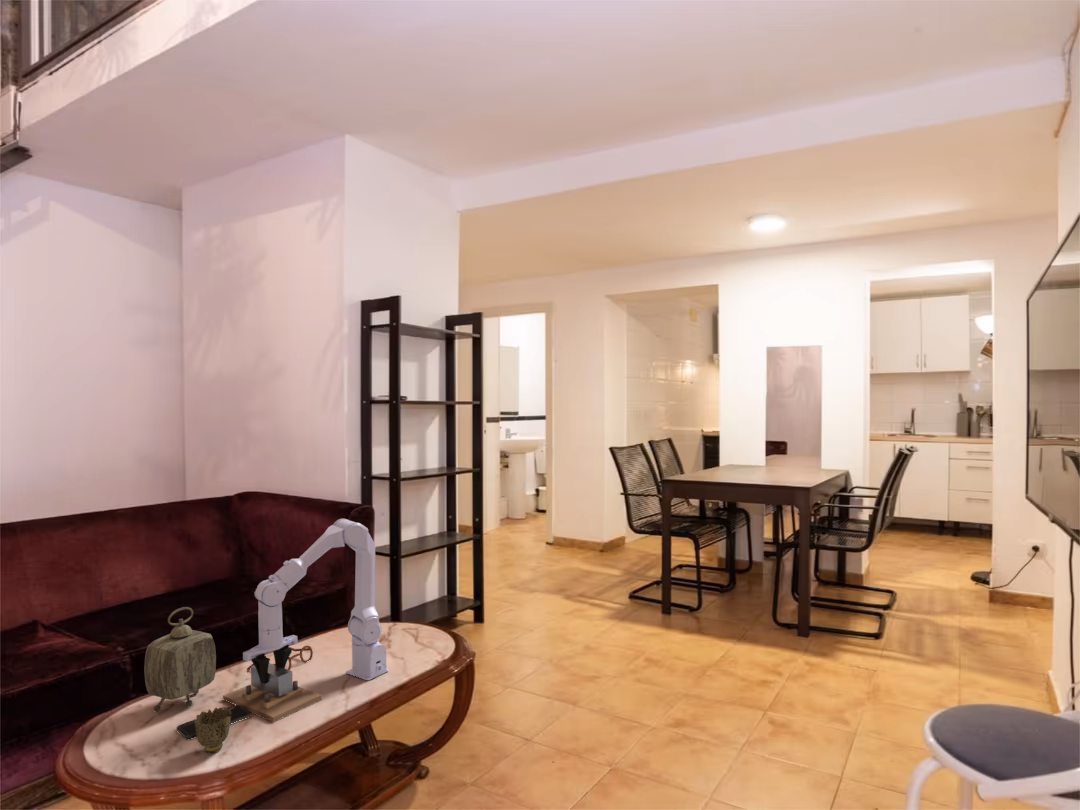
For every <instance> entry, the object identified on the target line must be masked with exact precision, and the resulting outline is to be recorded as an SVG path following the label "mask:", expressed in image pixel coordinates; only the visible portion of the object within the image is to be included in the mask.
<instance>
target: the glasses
mask: <svg viewBox="0 0 1080 810" xmlns="http://www.w3.org/2000/svg"><path fill="white" fill-rule="evenodd" d="M289 647H290V646H289ZM290 648H292V651H293V652H299V653H296V654H294V655H292V656H289V658H288V660H287V661H288V668H287V670H290V671H291V669H292V661H293V659H295V658H297V657H299V658H300V660H301V662H302V663H305V662H307V661H309V660H310V661H311V660H312V659H313V654H314V653H313V652H314V651H313V648H312V646H310V645H304V646H302V648H293V647H290ZM303 651H304V652H306V651H310V655H309V657H308V659H307V660H305V659H304V658H303ZM310 661H309V662H310ZM307 663H308V662H307ZM272 664H273V665H275V663H272ZM251 666H254V664H253V663H252V664H250V665H249V666H248V667H247V668H246V669H247V670H251V669H250V668H251Z"/></svg>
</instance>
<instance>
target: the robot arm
mask: <svg viewBox="0 0 1080 810" xmlns="http://www.w3.org/2000/svg"><path fill="white" fill-rule="evenodd" d="M345 544H346V545H347V546H348V547H349V548H351V549H352V550H353V551H355V575H354V576H355V577H354V578H355V580H354V582H355V583H354V606H353V608H352V610H351V611H350V618H349V620H348V623H347V629H348V633H349V634H350V635H351V667H352V668H351V669H349V670H346V671H345V674H346V673H347V675H349V674H350V676H352V675H353V676H354V677H355V676H356V678H358V677H359V679H361V678H362V680H365V681H370V680H372V679H375V678H377V677H378V676H380V675H383V674H384V673H385V674H386V673H387V672H389V670H390V669H389V668H387V649H386V647H385V646H384V645H383V644H381V643H380V641H379V639H380V638H381V635H382V625H381V624H380V620H379V619H380V616H379V613H378V612H377V610H376V607H375V583H376V582H375V580H376V578H375V576H376V572H375V571H376V543H375V542H374V539H373V538H372V536H371V534H370V532H369V529H368V527H366V526H365V525H364V524H362V523H360V522H355V521H352V520H350V519H346V518H339V519H337V520H336V521H335V522H334V523H333V524H332V525H330V526H328V527H327V529H326V530H325V531H324V533H323V534H322V535H321V536H320V537H318V538H317V540H316V541H314V543H313V544H311V546H310V547H309V548H308V549H307V550H306V551H304V552H303V554H301V555H300V556H299V558H291V559H289V560H285V561H284V562H283V563H282V564H283V566H281V567H280V568H279V569H278V570H277V571H276V572H274V574H271V575H270V574H269V576H268V579H266V580H262V581H260V582H259V583H258V585H257V587H256V588H255V591H254V597H255V599H257V600H258V602H257V603H258V612H257V615H258V616H257V617H258V618H257V619H258V644H257V645H256V646H254V647H252V648H250V649H248V650H246V651H243V652H242V660H243V661H244V662H247V663H248V662H252V664H254V666H255V667H256V670H257V672H258V675H259V678H260V682H261V683H264V684H266V683H267V681H268V665H269V663H270V660H271V658H269V657H267V655H266V654H271V653H272V652H273V657H274V661H275V662H274V664H275V665H276V666H279V667H282V668H284V669H286V665H287V662H288V661H289V660H288V658H289V657H291V654H292V651H293V650H292V648H293V647H291V648H290V646H291V645H297V644H299V643H298V641H299V640H298V635H294V634H292V635H289V636H285V637H284V634H283V605H282V602H284V600H285V597H286V595H287V592H288V591H290V590H291V589H292V588H293V587H294V586H295V585H296V584H297V583H299V581H301V580H302V578H304V577H305V576H306V575H307V571H308V568H309V566H311V565H312V564H313V563H315V562H316V561H317V560H318V559H319V558H321V557H322V556H323V555H324V554H325V553H327V552H328V551H329V550H331V549H333V548H343V547H345Z"/></svg>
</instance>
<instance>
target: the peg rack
mask: <svg viewBox="0 0 1080 810" xmlns="http://www.w3.org/2000/svg"><path fill="white" fill-rule="evenodd" d="M298 685H299V684H298V680H292V686H293V691H290V692H288V693H286V694H284V695H281V696H276V695H274V694H271V693H269V692H266V691H264V690H261V689H259V688H256V687H254V686H251V683H250V684H248V685H245V686H243V687H241V688H239V689H236V690H233V691H231V692H228V693H225V694H223V695H222V700H223V699H224V700H227V701H229V702H231V703H234V704H236V705H240V706H242V707H243V708H245V709H246V710H248V711H250V713H251V712H253V713H252V714H254V715H256V714H257V715H256V716H258V715H260V716H261V718H263V717H264V718H263V719H265V718H266V720H267V719H269V720H268V721H270V720H271V721H270V722H272V721H273V722H272V723H275V722H277V721H279V720H278V719H280V718H282V717H284V718H286V717H288V716H290V715H293V714H295V713H296V711H297V712H299V711H301V710H303V709H305V708H307V706H308V707H310V706H312V705H313V703H314V704H316V703H319V702H320V701H323V695H322V694H319V693H316V692H314V691H311V690H309V689H306V688H303V687H300V686H298ZM224 700H223V701H224ZM319 700H320V701H319ZM229 702H228V703H229ZM315 702H316V703H315ZM231 703H230V704H231ZM311 704H312V705H311ZM309 705H310V706H309ZM302 708H303V709H302ZM300 709H301V710H300ZM298 710H299V711H298ZM294 712H295V713H294ZM292 713H293V714H292ZM289 714H290V715H289ZM287 715H288V716H287ZM260 716H259V717H260ZM285 716H286V717H285ZM282 719H283V718H282ZM276 720H277V721H276ZM280 720H281V719H280ZM274 721H275V722H274Z"/></svg>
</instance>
